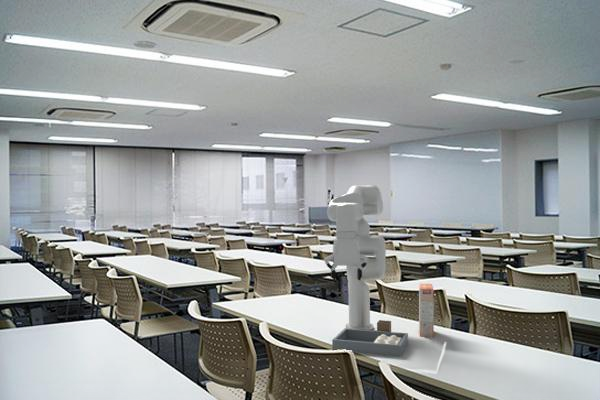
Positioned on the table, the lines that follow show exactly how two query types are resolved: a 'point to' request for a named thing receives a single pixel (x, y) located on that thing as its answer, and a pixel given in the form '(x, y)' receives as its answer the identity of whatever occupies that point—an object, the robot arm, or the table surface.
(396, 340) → the egg carton
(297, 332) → the table surface
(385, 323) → the walnut block
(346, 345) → the tray
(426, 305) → the cracker box
